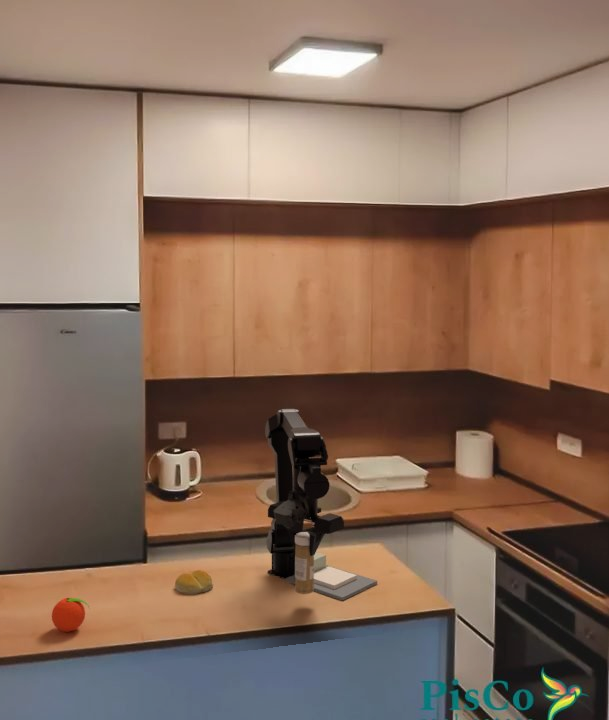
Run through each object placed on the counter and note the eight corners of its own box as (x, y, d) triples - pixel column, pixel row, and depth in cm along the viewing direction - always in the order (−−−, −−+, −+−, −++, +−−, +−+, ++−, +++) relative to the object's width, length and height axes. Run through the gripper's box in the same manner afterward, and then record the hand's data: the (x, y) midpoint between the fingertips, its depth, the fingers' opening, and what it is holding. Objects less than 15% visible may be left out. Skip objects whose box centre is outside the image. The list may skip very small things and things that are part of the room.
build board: (285, 581, 202) (285, 562, 201) (321, 566, 212) (321, 548, 212) (342, 600, 190) (342, 581, 189) (377, 583, 200) (377, 565, 200)
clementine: (92, 621, 178) (91, 590, 177) (89, 635, 171) (88, 603, 170) (54, 624, 176) (53, 592, 176) (49, 638, 169) (48, 605, 169)
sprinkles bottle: (317, 592, 186) (318, 535, 184) (301, 596, 183) (301, 539, 181) (307, 585, 189) (307, 529, 188) (290, 589, 187) (291, 533, 185)
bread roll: (170, 586, 198) (170, 570, 198) (204, 579, 203) (204, 564, 202) (182, 598, 191) (182, 582, 191) (217, 591, 196) (217, 575, 195)
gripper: (251, 486, 183) (251, 552, 185) (313, 502, 171) (312, 573, 173) (284, 476, 192) (283, 540, 194) (346, 491, 180) (345, 559, 181)
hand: (304, 553), depth 185 cm, fingers closed on sprinkles bottle, 4 cm apart
